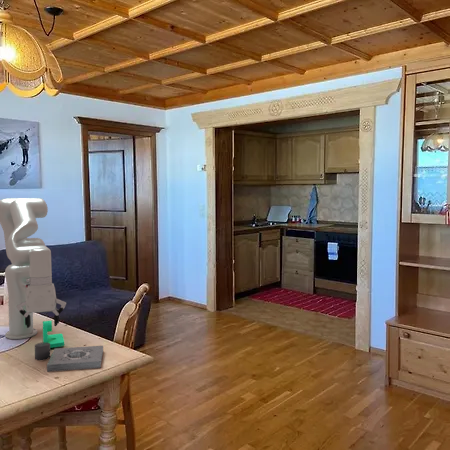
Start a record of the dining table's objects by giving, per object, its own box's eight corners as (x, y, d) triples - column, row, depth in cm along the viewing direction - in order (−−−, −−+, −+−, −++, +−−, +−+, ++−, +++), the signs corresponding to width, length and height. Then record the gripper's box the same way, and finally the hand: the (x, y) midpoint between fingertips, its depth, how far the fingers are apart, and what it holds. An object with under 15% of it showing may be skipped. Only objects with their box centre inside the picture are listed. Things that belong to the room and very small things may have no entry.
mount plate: (54, 354, 170) (54, 348, 170) (103, 351, 174) (103, 345, 174) (47, 371, 155) (47, 364, 155) (100, 367, 159) (100, 361, 158)
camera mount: (64, 348, 178) (64, 323, 177) (44, 351, 174) (43, 325, 174) (62, 339, 189) (61, 315, 188) (42, 341, 185) (42, 317, 185)
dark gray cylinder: (36, 355, 170) (36, 342, 169) (51, 354, 171) (51, 342, 170) (33, 360, 164) (33, 347, 164) (49, 359, 166) (48, 346, 165)
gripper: (13, 283, 160) (15, 330, 161) (63, 281, 163) (65, 327, 164) (18, 280, 167) (20, 324, 168) (66, 278, 170) (68, 321, 172)
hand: (42, 326), depth 166 cm, fingers open, 9 cm apart
